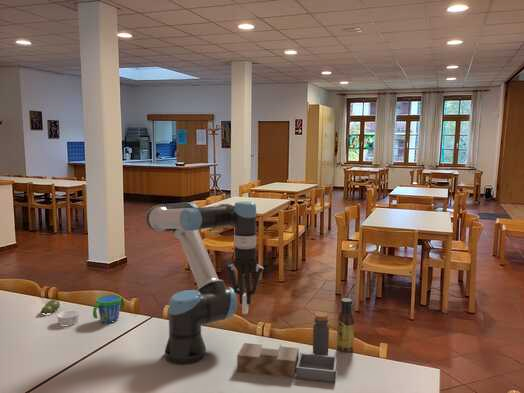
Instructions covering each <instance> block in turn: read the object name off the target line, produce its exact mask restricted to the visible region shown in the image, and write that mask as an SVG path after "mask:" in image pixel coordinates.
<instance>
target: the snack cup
mask: <svg viewBox="0 0 524 393" xmlns="http://www.w3.org/2000/svg"><path fill="white" fill-rule="evenodd" d="M95 300H96V303H95V304H94V306H93V310H92V316H93V319H98V316H99V318H100V321H101V322H102V321H103V322H112V321H115V320H116V321H118V320H119V316H120V310H121V309H125V306H126V305H125V304H126V303H125V299H124V297H122V296H121V295H118V294H105V295H101V296H99V297H97V298H96V299H95ZM97 310H98V313H99V314H97ZM117 319H118V320H117ZM116 321H115V322H116ZM103 322H102V323H103ZM112 323H113V322H112Z"/></svg>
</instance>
